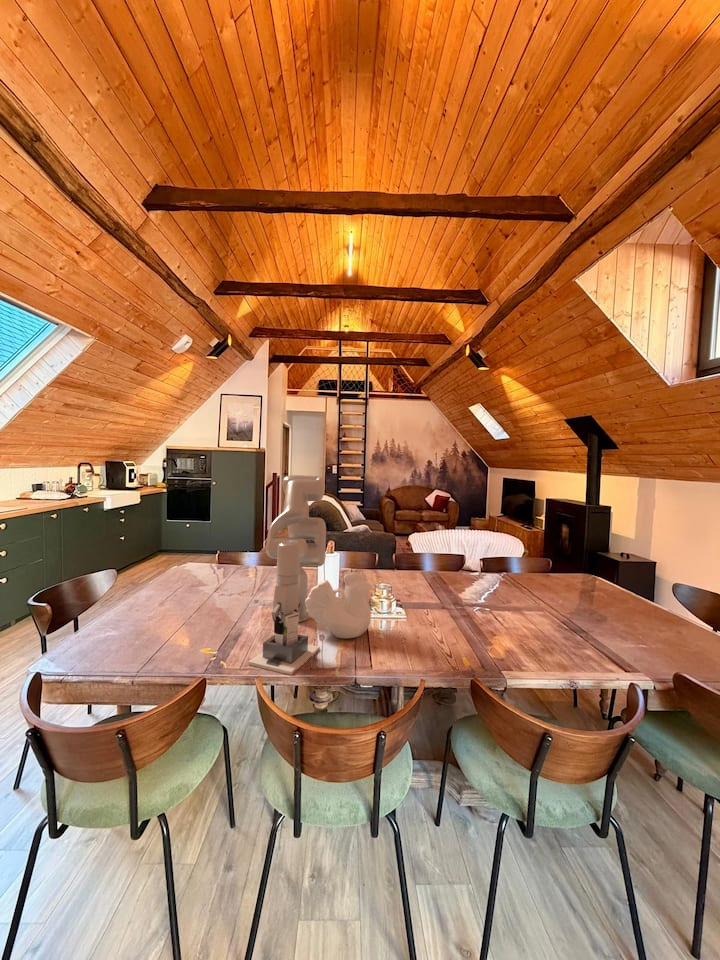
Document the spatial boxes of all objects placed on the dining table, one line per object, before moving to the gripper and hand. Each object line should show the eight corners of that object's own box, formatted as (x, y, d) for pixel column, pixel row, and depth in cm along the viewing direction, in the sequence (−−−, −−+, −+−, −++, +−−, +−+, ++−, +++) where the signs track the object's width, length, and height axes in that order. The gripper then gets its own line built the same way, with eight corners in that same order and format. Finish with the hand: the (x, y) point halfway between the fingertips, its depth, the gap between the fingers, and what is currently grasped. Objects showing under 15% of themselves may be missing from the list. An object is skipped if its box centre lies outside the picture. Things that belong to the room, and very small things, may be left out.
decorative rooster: (372, 628, 177) (374, 567, 175) (367, 645, 161) (369, 578, 160) (312, 622, 180) (313, 563, 179) (301, 638, 165) (303, 573, 163)
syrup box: (273, 653, 149) (275, 611, 149) (288, 648, 154) (289, 607, 153) (283, 659, 145) (285, 616, 145) (298, 653, 150) (299, 611, 149)
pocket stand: (280, 641, 161) (281, 625, 161) (319, 649, 156) (320, 633, 155) (248, 664, 143) (248, 646, 142) (291, 675, 137) (291, 656, 137)
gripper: (291, 571, 157) (289, 618, 158) (263, 583, 141) (262, 635, 142) (309, 574, 154) (308, 621, 155) (284, 587, 138) (282, 640, 139)
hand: (286, 628), depth 149 cm, fingers open, 9 cm apart
